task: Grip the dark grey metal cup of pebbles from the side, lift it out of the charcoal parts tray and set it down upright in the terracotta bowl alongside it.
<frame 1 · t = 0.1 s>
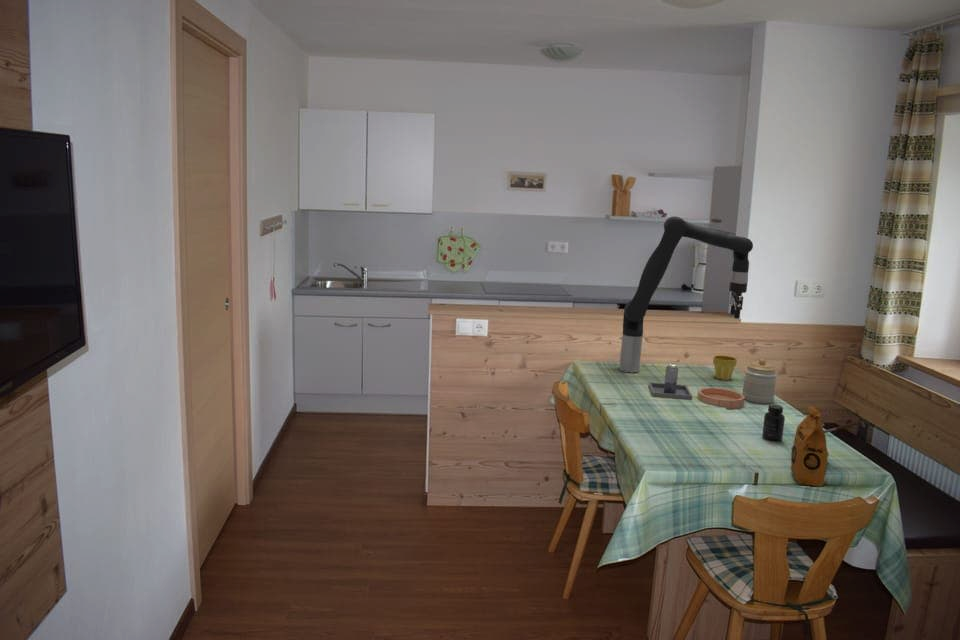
hand: (734, 316, 347), 29 cm above the table, tool pointing down, fingers open, 8 cm apart
supplement bottle: (771, 439, 272), on the table
plant pot: (722, 378, 353), on the table
pebble cup: (669, 392, 320), point 1 cm above the table, touching parts tray
parts tray: (669, 394, 321), on the table
terracotta bowl: (720, 402, 314), on the table
coffee package: (806, 479, 235), on the table
jar: (757, 399, 321), on the table
coffee pot: (824, 461, 252), on the table
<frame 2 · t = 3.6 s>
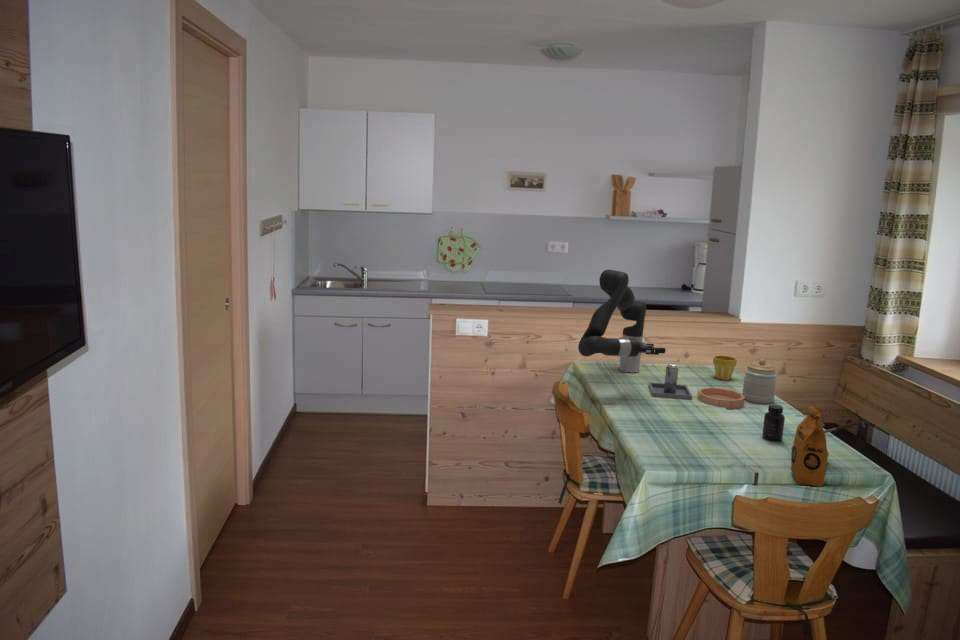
hand: (658, 348, 314), 20 cm above the table, tool horizontal, fingers open, 8 cm apart
nothing on the table moved.
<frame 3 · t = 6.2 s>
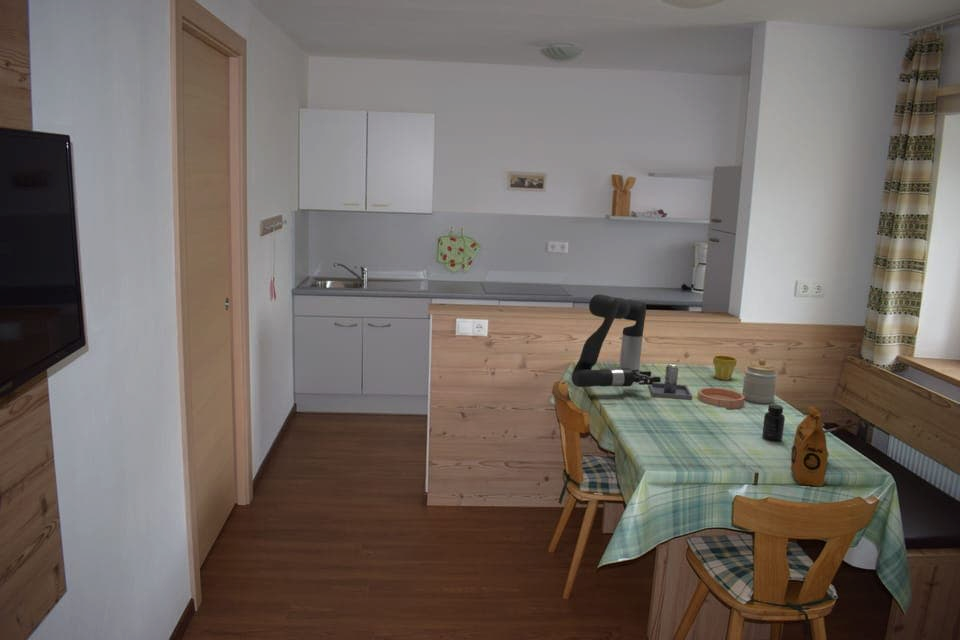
hand: (655, 376, 317), 8 cm above the table, tool horizontal, fingers open, 8 cm apart
nothing on the table moved.
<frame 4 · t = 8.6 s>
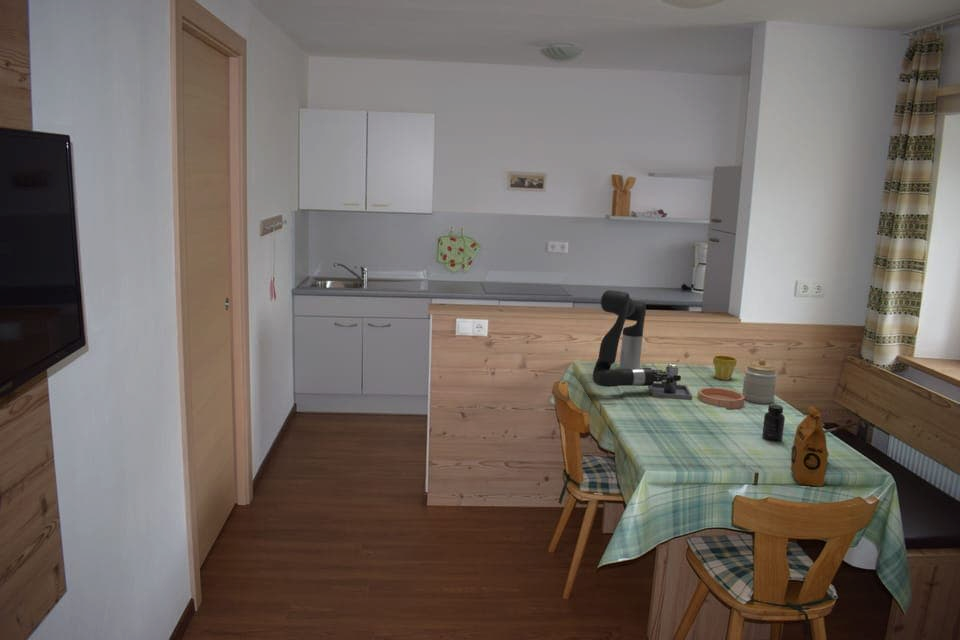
hand: (676, 376, 320), 8 cm above the table, tool horizontal, fingers closed on pebble cup, 5 cm apart
pebble cup: (669, 392, 320), point 1 cm above the table, touching gripper, parts tray
everything else where it was.
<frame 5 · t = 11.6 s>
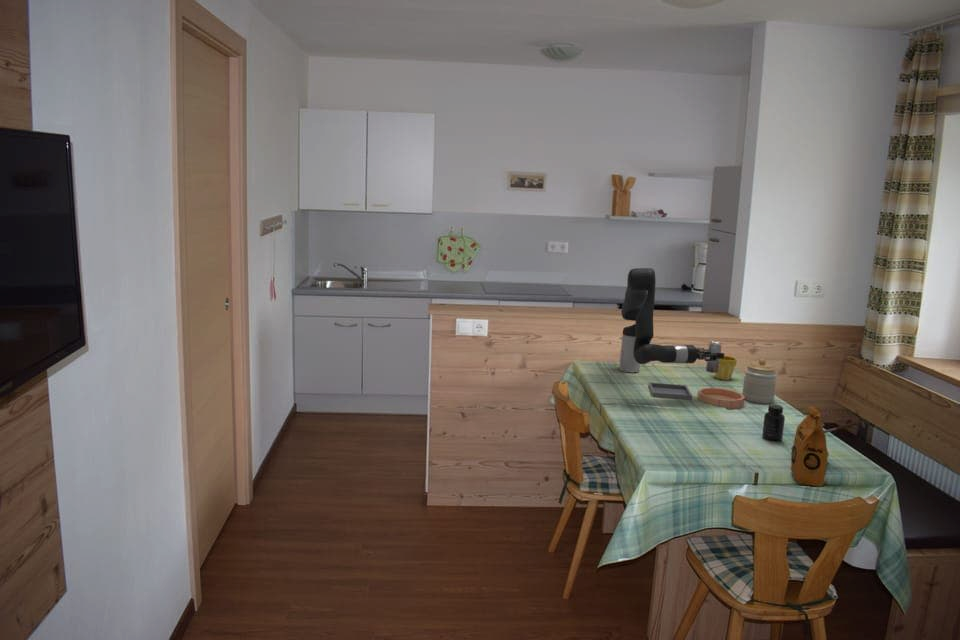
hand: (719, 354, 312), 20 cm above the table, tool horizontal, fingers closed on pebble cup, 5 cm apart
pebble cup: (712, 371, 312), point 13 cm above the table, touching gripper
everything else where it was.
when the fingers open (9 cm above the table, at t = 15.0 s): pebble cup drops 1 cm, resting on terracotta bowl.
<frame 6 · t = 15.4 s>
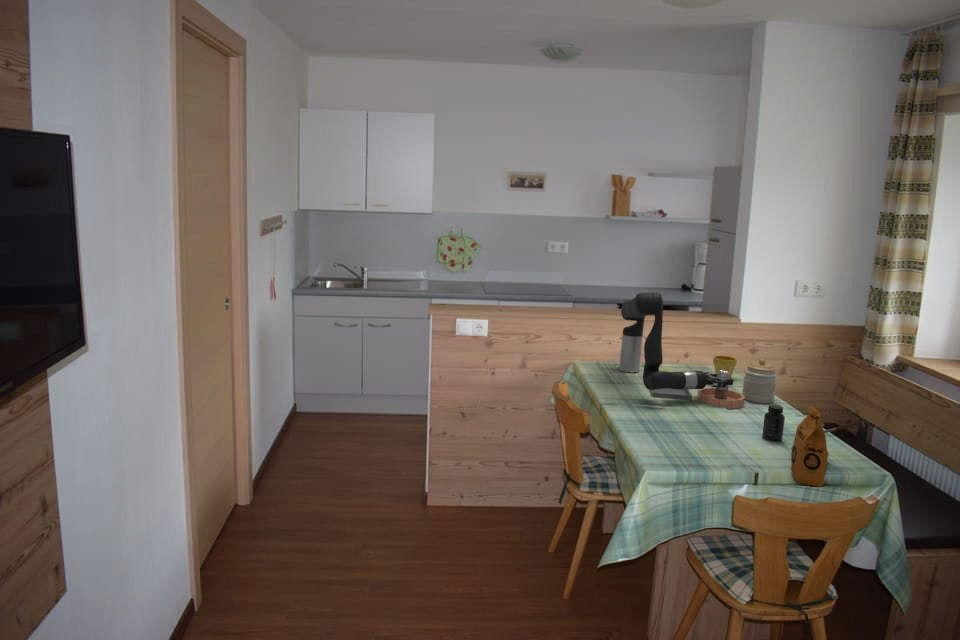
hand: (727, 379, 312), 10 cm above the table, tool horizontal, fingers open, 8 cm apart
pebble cup: (720, 399, 313), point 1 cm above the table, touching terracotta bowl
everything else where it was.
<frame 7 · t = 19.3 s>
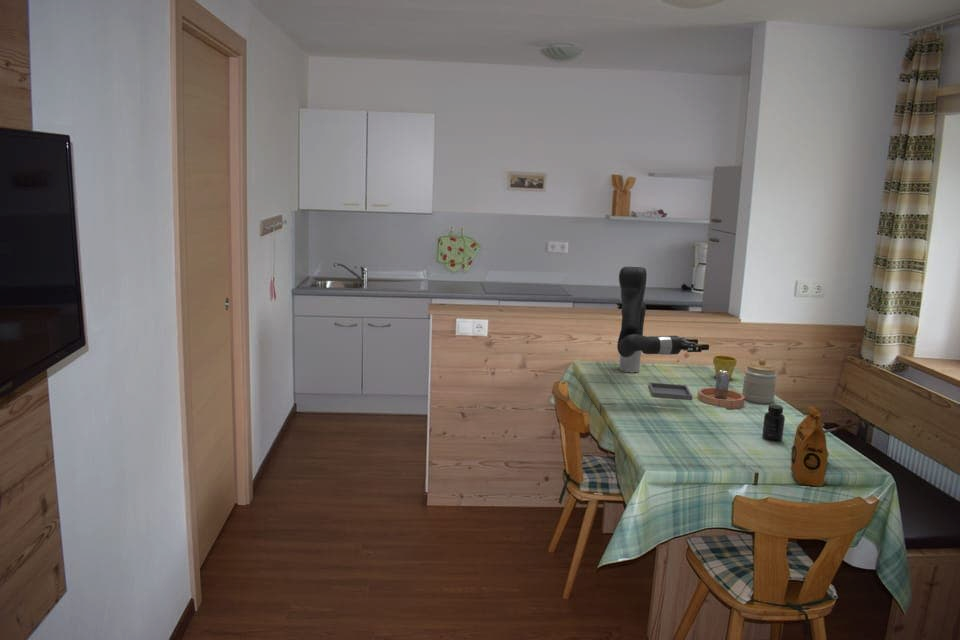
hand: (703, 344, 306), 24 cm above the table, tool horizontal, fingers open, 8 cm apart
nothing on the table moved.
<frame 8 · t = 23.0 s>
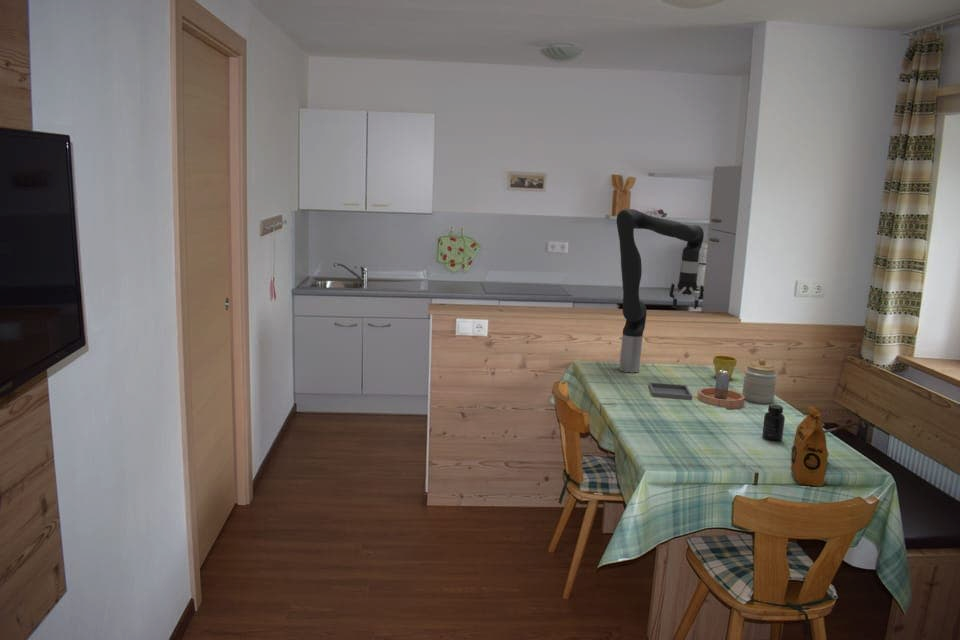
hand: (684, 307, 334), 34 cm above the table, tool pointing down, fingers open, 8 cm apart
nothing on the table moved.
at the end: pebble cup inside the target area on the terracotta bowl (0.1 cm from its centre), point 1.0 cm above the terracotta bowl's base; pebble cup tilted 0°; the gripper is holding nothing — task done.
